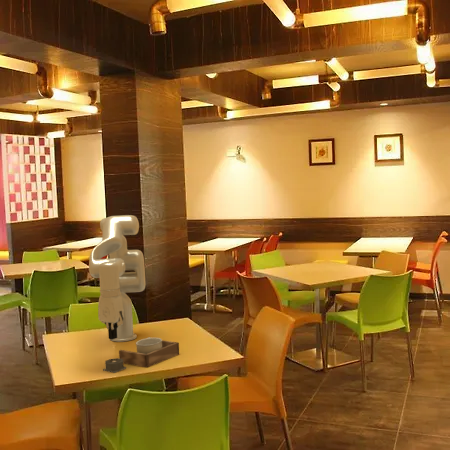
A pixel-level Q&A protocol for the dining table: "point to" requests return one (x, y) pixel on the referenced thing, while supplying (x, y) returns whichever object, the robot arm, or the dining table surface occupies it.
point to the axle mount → (114, 371)
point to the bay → (150, 355)
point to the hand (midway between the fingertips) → (113, 338)
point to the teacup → (148, 345)
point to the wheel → (114, 364)
